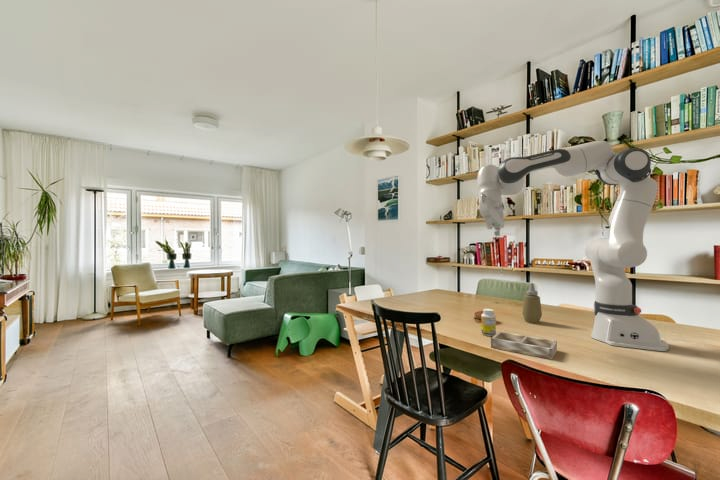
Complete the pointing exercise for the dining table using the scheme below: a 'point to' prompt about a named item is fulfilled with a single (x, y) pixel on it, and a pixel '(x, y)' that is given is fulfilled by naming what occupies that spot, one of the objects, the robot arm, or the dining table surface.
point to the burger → (478, 316)
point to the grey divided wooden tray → (524, 344)
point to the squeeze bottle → (532, 306)
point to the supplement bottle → (488, 322)
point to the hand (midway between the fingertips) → (493, 232)
